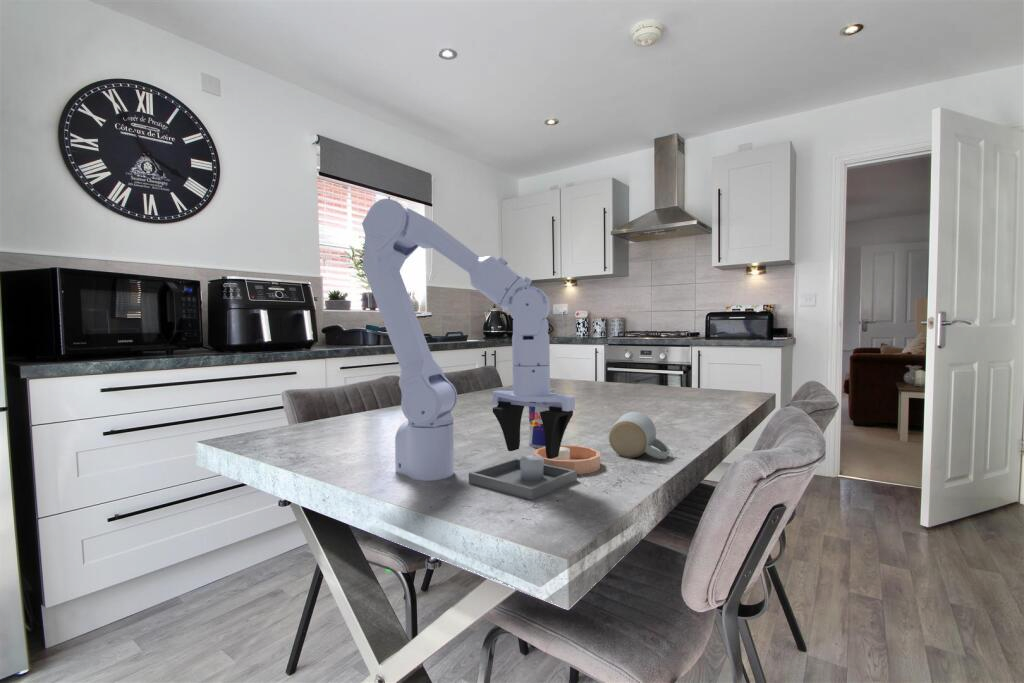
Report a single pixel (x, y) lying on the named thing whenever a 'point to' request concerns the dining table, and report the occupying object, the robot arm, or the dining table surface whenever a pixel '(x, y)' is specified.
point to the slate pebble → (532, 468)
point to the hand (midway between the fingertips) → (532, 453)
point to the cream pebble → (563, 454)
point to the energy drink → (537, 425)
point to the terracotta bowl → (574, 459)
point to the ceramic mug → (636, 437)
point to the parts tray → (510, 482)
